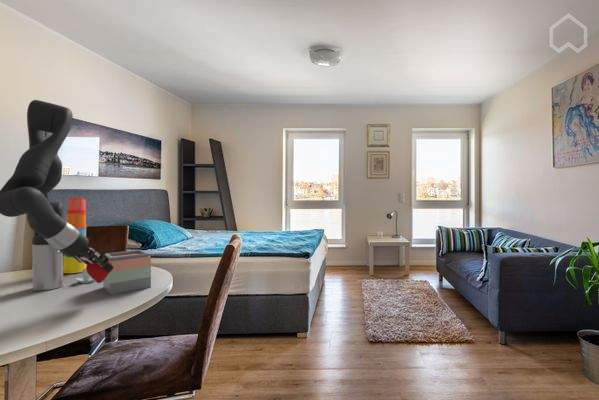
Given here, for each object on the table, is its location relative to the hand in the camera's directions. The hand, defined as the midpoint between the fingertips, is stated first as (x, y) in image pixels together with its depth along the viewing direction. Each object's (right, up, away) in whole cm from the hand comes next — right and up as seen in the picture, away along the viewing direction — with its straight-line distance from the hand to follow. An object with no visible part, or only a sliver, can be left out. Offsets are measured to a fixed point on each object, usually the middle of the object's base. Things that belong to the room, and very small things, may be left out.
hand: (104, 268), depth 107 cm
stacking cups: (-39, -10, +41) cm, 57 cm away
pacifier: (-22, -11, +23) cm, 33 cm away
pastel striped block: (-1, -11, +16) cm, 19 cm away
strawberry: (-1, -5, -1) cm, 5 cm away
